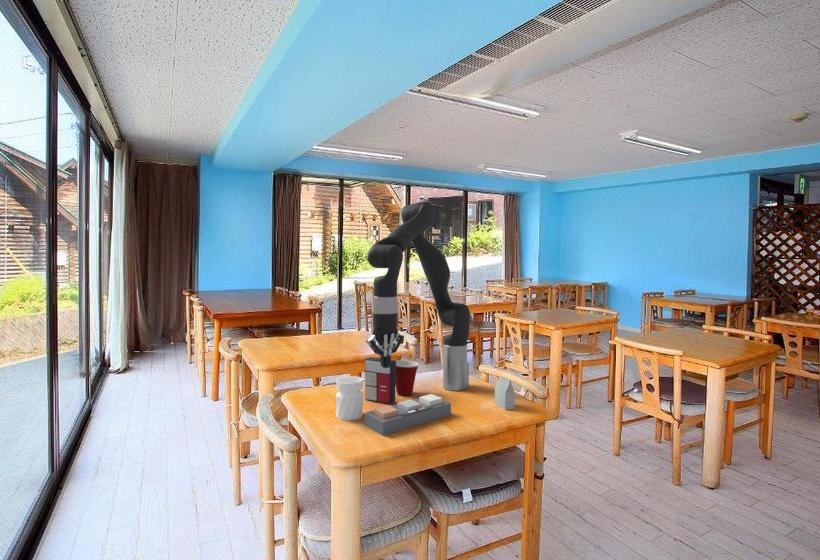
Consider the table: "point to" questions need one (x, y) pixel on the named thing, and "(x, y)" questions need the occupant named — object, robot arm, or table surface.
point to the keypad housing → (407, 418)
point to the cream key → (430, 400)
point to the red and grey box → (379, 381)
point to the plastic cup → (405, 377)
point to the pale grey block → (504, 393)
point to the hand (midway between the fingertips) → (385, 367)
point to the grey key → (408, 405)
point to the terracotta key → (385, 412)
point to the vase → (349, 398)
